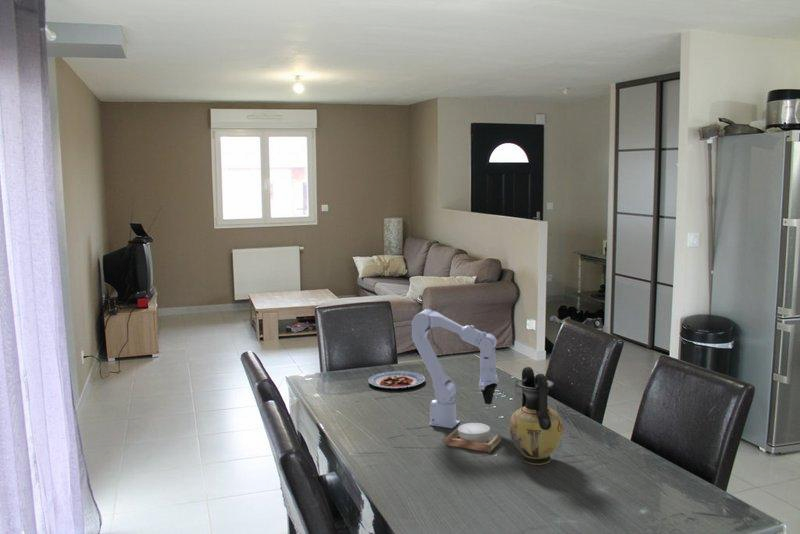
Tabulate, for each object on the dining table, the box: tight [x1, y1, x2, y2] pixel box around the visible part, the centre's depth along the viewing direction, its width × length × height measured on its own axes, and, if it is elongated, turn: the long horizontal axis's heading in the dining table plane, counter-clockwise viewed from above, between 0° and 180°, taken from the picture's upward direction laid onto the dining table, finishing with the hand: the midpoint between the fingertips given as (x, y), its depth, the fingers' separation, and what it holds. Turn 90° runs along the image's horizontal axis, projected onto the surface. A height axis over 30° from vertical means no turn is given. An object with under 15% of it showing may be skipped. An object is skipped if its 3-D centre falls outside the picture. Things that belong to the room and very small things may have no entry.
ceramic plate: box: [367, 370, 426, 390], centre depth 316 cm, size 26×26×3 cm
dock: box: [444, 426, 502, 453], centre depth 242 cm, size 16×11×2 cm
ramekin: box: [457, 422, 491, 443], centre depth 243 cm, size 11×11×5 cm
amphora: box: [509, 366, 564, 466], centre depth 225 cm, size 18×17×30 cm
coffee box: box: [514, 379, 522, 412], centre depth 257 cm, size 9×6×16 cm
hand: (488, 403), depth 255 cm, fingers closed
